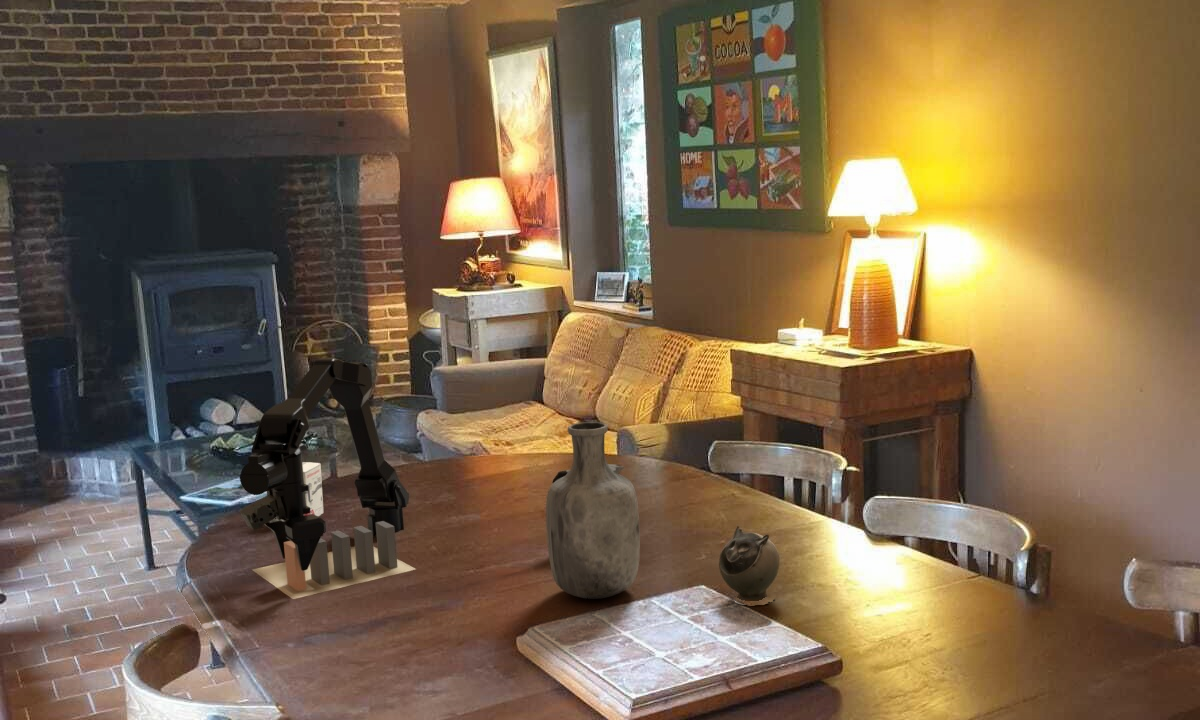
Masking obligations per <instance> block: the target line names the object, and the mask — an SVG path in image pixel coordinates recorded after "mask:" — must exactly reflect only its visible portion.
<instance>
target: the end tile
mask: <svg viewBox="0 0 1200 720" xmlns="http://www.w3.org/2000/svg"><path fill="white" fill-rule="evenodd" d="M284 551H285V559H284V560H285V561H284V562H286V573H287V584H288V585H289V586H291V587H292V588H294V589H295V590H297V591H301V590H305V589H306V580H305V570H304V571H302V570H301V568H300V564H299V560H298V556H297V552H296V548H295V544H294V543H293V542H292V541H287V542H284Z"/></svg>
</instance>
